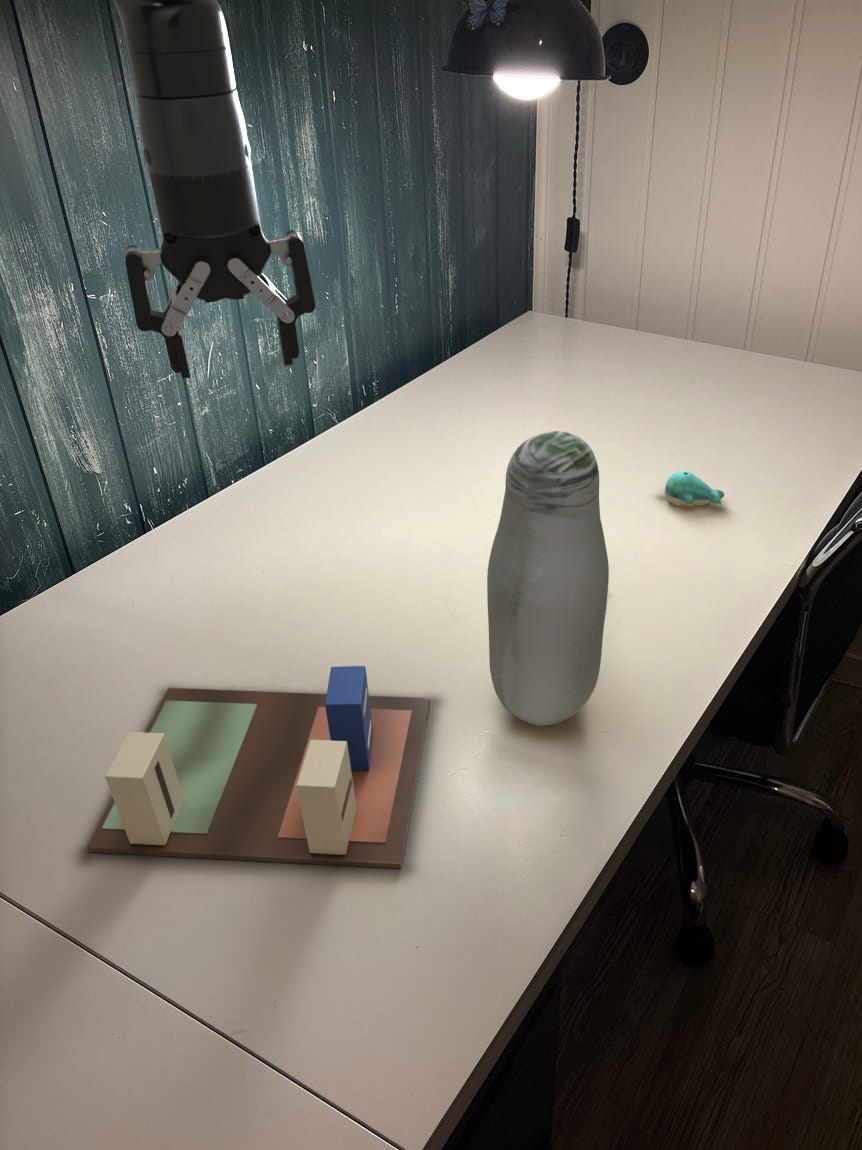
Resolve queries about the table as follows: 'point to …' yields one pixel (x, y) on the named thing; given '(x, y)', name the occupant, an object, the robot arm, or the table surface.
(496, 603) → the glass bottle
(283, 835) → the brown flat rectangular board
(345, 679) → the blue rectangular block
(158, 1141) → the table surface
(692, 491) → the whale figurine
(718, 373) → the table surface
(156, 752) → the tile
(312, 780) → the tile
